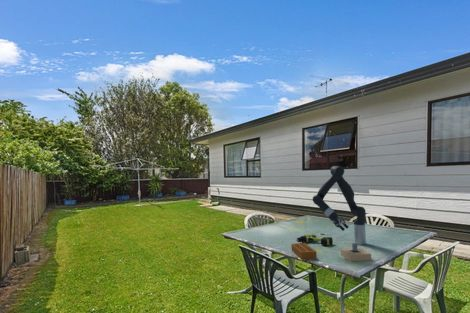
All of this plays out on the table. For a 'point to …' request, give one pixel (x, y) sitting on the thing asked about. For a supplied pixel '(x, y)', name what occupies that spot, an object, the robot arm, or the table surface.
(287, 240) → the table surface
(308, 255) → the brick
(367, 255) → the block
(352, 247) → the chuck key
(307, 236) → the cordless drill
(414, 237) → the table surface
